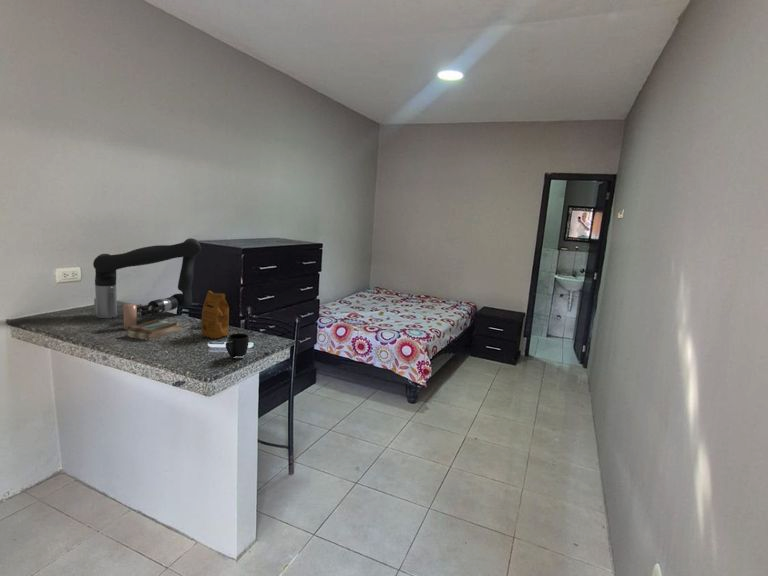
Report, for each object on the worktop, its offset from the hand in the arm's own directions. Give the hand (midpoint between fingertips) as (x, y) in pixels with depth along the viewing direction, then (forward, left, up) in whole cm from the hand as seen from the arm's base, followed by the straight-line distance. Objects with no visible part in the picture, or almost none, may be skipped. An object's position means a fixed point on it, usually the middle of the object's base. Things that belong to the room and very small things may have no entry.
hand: (134, 312), depth 206 cm
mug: (+67, -14, -8) cm, 69 cm away
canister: (0, -3, -8) cm, 8 cm away
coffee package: (+40, +8, -8) cm, 42 cm away
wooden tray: (+15, -3, -8) cm, 17 cm away
